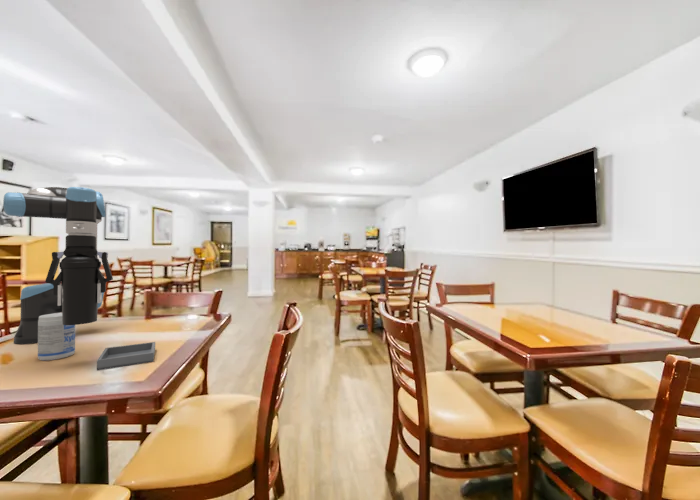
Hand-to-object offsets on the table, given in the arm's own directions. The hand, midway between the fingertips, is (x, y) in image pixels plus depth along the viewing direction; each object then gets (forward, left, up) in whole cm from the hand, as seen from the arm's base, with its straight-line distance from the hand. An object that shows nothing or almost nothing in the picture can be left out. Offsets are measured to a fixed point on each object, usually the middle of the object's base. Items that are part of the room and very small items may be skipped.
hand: (80, 303), depth 100 cm
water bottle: (0, 0, -6) cm, 6 cm away
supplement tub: (-13, -9, -20) cm, 25 cm away
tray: (+3, +13, -19) cm, 24 cm away
